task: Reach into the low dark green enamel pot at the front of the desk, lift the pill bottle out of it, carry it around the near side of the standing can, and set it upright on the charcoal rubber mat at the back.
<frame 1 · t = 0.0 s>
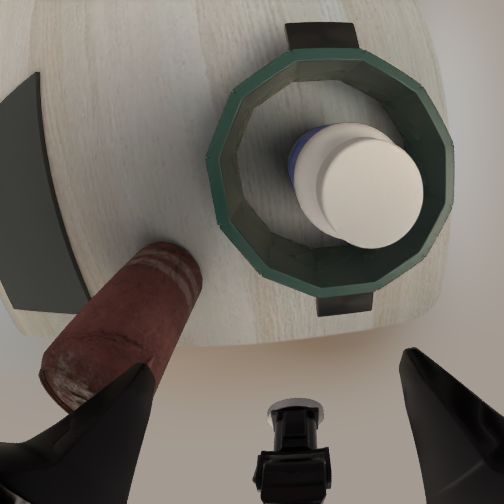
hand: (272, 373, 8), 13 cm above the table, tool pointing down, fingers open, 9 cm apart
pill bottle: (326, 165, 17), resting in pot
mat: (10, 212, 21), on the table
pot: (327, 165, 17), on the table
can: (171, 271, 22), on the table
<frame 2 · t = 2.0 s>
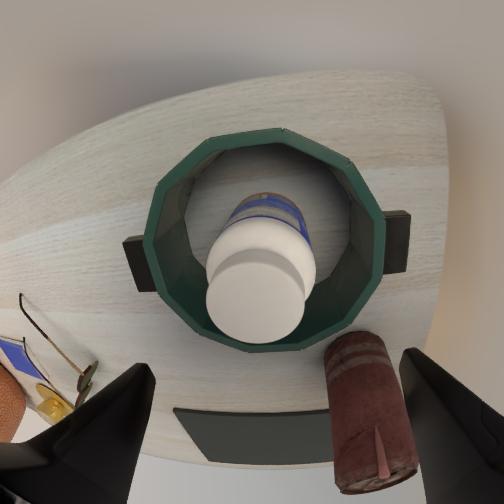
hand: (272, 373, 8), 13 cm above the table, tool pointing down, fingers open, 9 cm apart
cup: (58, 401, 40), on the table
pill bottle: (267, 226, 20), resting in pot
planter: (8, 376, 43), on the table
mat: (276, 442, 33), on the table
hard drive: (22, 354, 34), on the table
pot: (267, 227, 19), on the table
can: (353, 349, 24), on the table
sunglasses: (55, 345, 30), on the table
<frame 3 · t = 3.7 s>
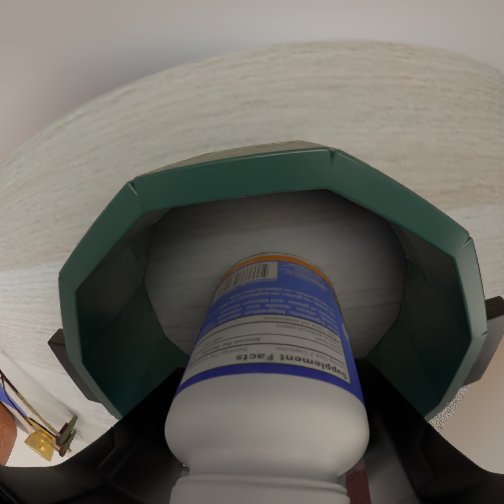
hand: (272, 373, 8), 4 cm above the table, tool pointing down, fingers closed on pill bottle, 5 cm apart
cup: (47, 433, 32), on the table
pill bottle: (275, 301, 12), resting in pot, touching gripper
hard drive: (5, 388, 27), on the table
pot: (275, 304, 12), on the table
can: (377, 423, 16), on the table
sunglasses: (32, 390, 22), on the table
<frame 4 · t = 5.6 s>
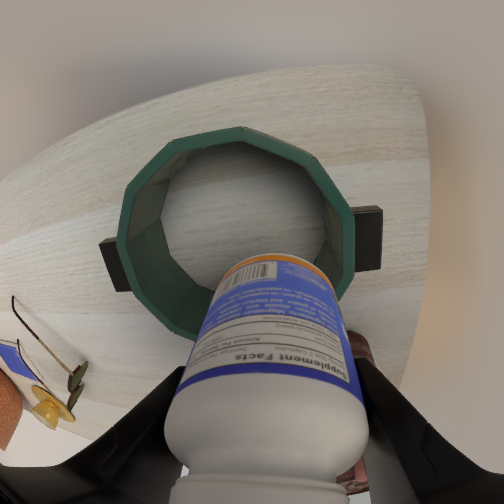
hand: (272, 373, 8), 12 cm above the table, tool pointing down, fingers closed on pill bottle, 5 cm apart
cup: (53, 403, 39), on the table
pill bottle: (274, 301, 12), point 8 cm above the table, touching gripper
planter: (5, 378, 42), on the table
hard drive: (17, 356, 34), on the table
pot: (241, 226, 19), on the table
can: (336, 349, 24), on the table
sunglasses: (47, 346, 30), on the table
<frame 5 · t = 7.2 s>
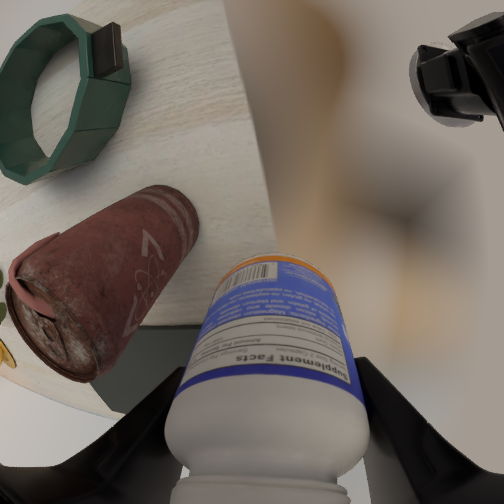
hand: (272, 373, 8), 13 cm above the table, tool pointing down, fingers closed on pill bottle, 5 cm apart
cup: (0, 346, 37), on the table
pill bottle: (275, 302, 12), point 9 cm above the table, touching gripper
mat: (153, 382, 30), on the table
pot: (68, 97, 16), on the table
can: (164, 219, 21), on the table
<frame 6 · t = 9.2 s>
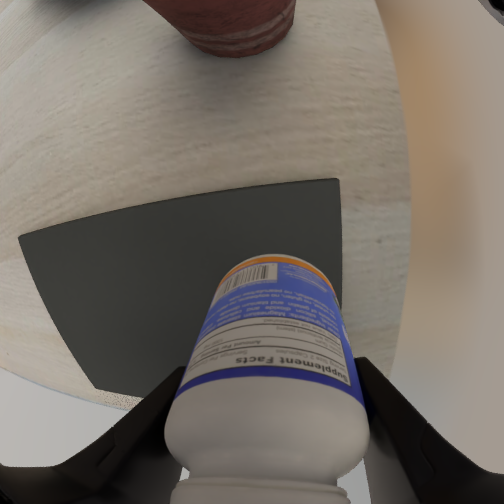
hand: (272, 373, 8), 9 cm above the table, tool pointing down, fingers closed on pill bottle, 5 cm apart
pill bottle: (274, 302, 12), point 5 cm above the table, touching gripper
mat: (164, 327, 20), on the table
can: (237, 16, 11), on the table
when the fingers open (5 cm above the table, at t = 10.8 s): pill bottle stays where it is, resting on mat.
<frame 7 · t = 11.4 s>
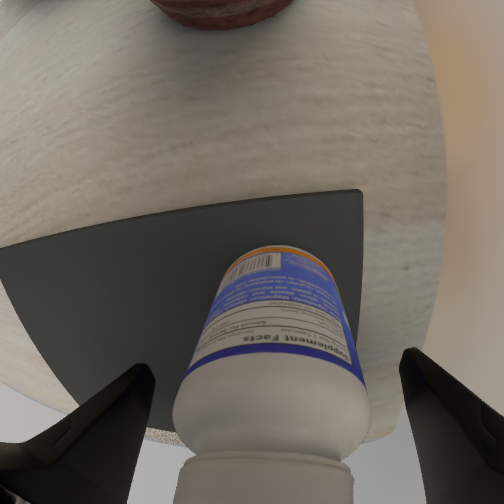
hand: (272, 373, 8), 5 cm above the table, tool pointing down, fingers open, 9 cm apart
pill bottle: (277, 293, 12), resting on mat
mat: (147, 359, 16), on the table
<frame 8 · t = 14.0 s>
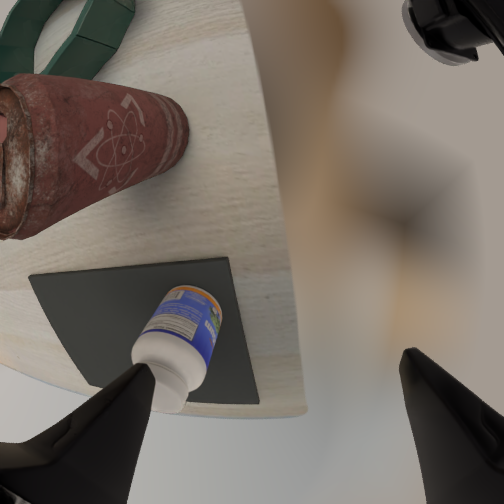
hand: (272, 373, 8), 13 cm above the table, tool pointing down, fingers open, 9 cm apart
pill bottle: (193, 308, 23), resting on mat
mat: (132, 343, 27), on the table
pot: (73, 31, 13), on the table
can: (153, 133, 18), on the table
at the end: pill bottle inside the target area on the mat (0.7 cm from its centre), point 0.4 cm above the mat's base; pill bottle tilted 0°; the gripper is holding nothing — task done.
